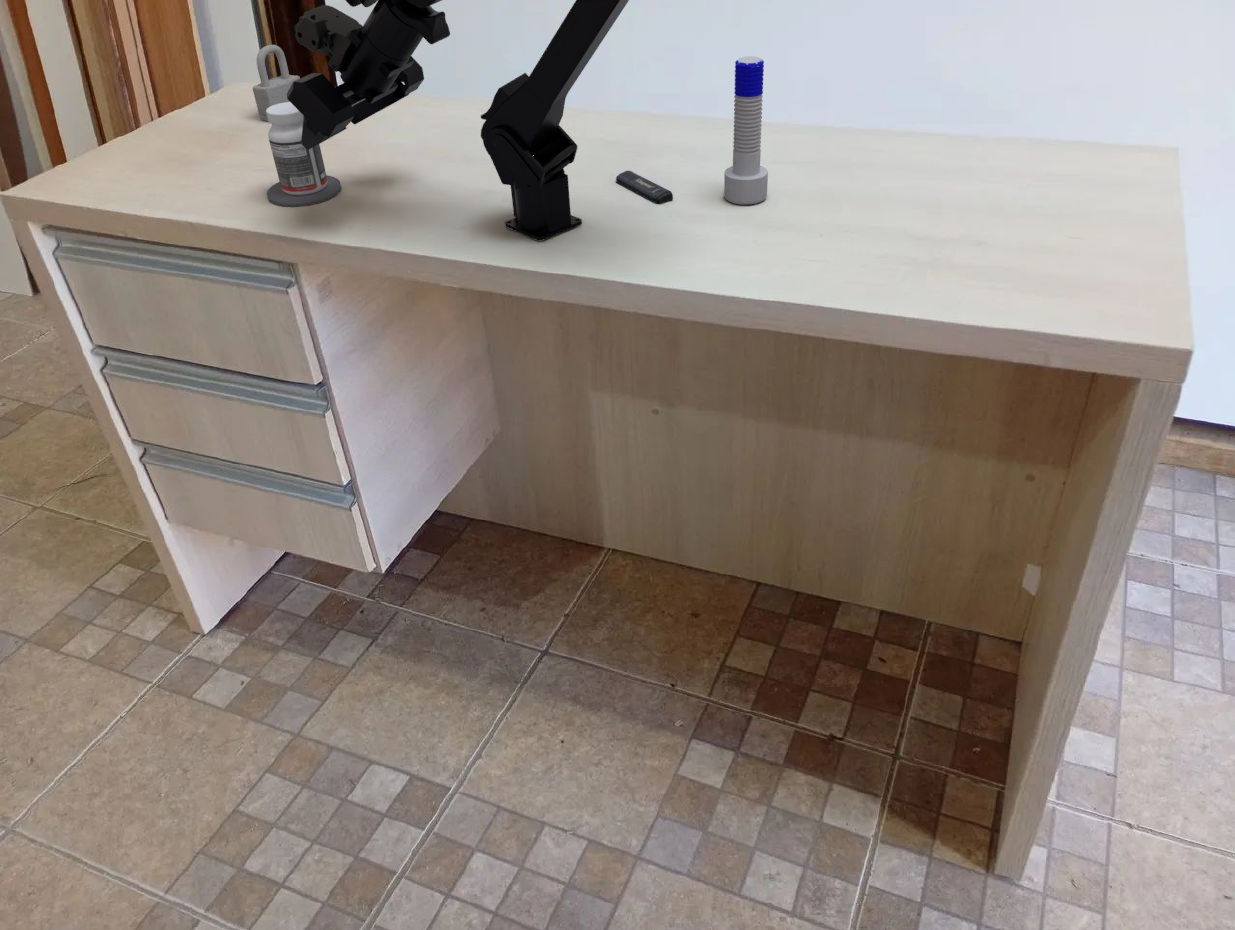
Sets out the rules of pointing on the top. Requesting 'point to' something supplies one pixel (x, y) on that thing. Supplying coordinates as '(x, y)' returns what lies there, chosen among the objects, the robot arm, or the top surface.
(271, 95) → the padlock
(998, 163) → the top surface
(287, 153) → the pill bottle
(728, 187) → the bolt
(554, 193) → the robot arm
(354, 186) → the top surface
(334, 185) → the coaster
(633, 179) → the usb stick
